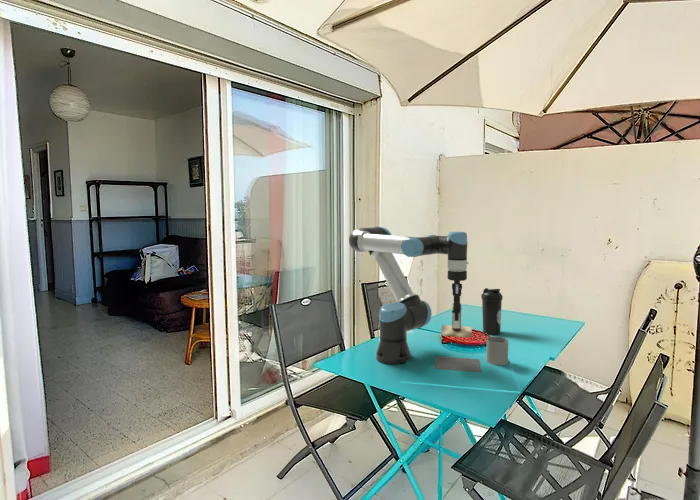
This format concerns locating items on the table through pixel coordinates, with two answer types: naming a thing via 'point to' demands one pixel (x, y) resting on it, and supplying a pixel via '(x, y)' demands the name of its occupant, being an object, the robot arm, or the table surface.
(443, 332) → the lid
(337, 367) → the table surface
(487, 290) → the water bottle
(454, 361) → the mat
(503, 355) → the cup
